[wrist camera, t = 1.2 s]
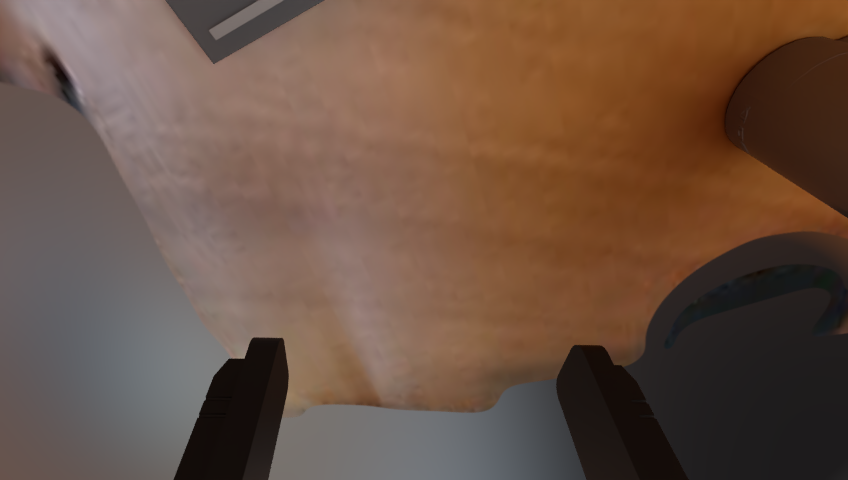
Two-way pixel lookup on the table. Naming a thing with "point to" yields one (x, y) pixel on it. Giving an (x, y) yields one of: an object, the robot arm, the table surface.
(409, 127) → the table surface
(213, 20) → the control panel
